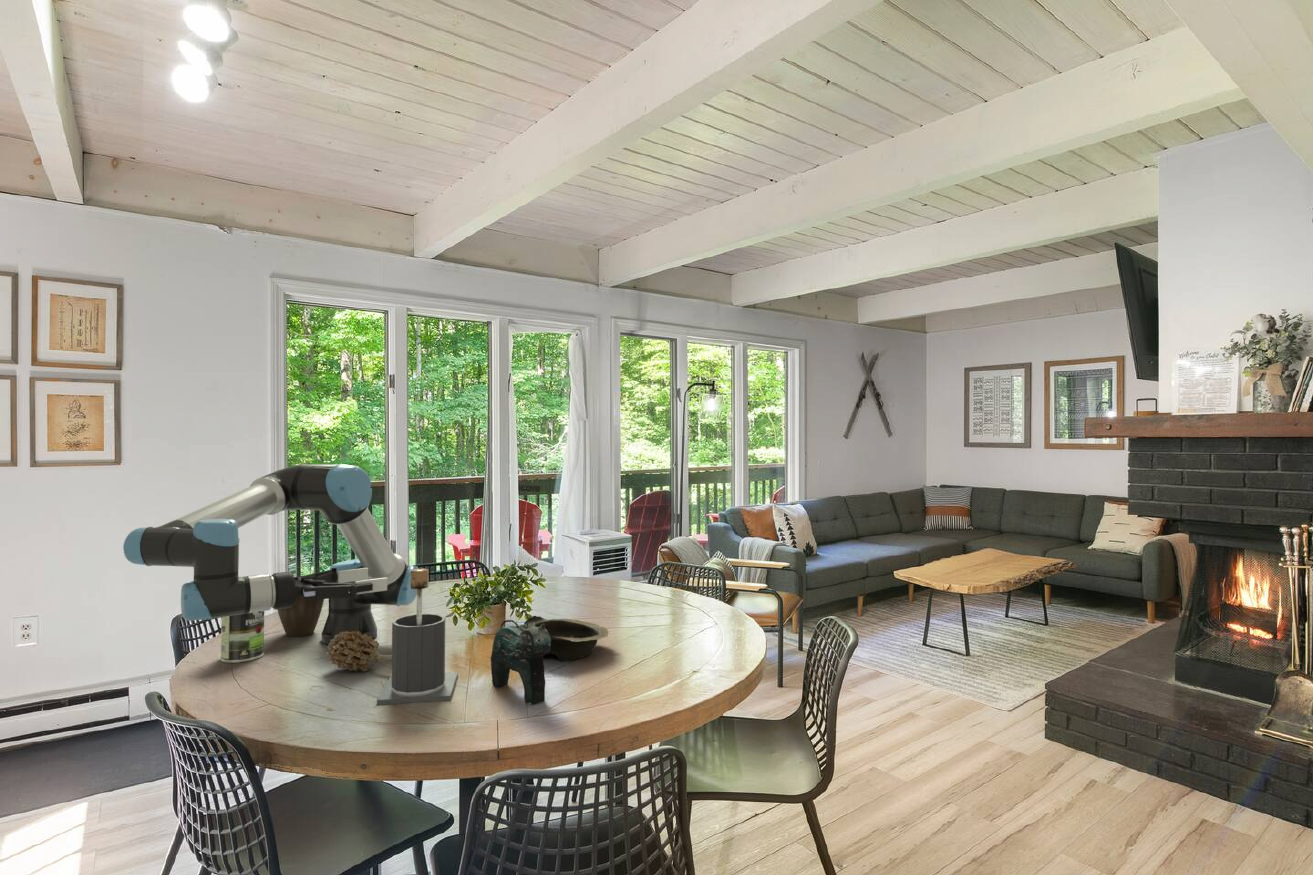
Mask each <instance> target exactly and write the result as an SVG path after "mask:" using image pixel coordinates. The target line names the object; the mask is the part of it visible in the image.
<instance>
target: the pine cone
mask: <svg viewBox="0 0 1313 875" xmlns="http://www.w3.org/2000/svg"><path fill="white" fill-rule="evenodd" d="M330 641H331V643H330V644H328V645H327V646H326V648H327V650H328V651H327V652H326V656H327V657H328V658H327V660H328V661H330V662H331V664H332V665H337V668H338V669H341V670H346V669H348V670H349V671H355V672H357V671H362V672H367V671H368V670H370V667H372V666H373V664H374V663H375V664H376V663H377V662H380V661H392V654H387V655H386V654H383V655H382V654H381V653H380V652H379V646H380V644H379V643H380V642H378V640H375V639H372V637H371V636H367V635H366V634H364V635H362V634H361V632H360V631H358V632H356V631H352V632H348V631H345V632H340V633H339V635H335V636H334V639H332V640H330Z"/></svg>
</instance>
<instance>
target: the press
mask: <svg viewBox="0 0 1313 875" xmlns="http://www.w3.org/2000/svg"><path fill="white" fill-rule="evenodd" d="M416 625H417V613H415V614H408V615H403V616H399V617H398V618H394V619H393V621H392V622H391V628H392V630H391V632H392V633H391V655H392V660H391V675H390V677H389V678H388V680H387V682H386V683H385V685H384V687H383V689H382V691H381V692H380V694H379V696H378V697H377V700H376V705H386V704H387V705H388V704H405V703H406V704H407V703H422V702H436V701H437V702H440V701H451V700H452V696H453V692H454V689H455V687H456V684H457V679H458V673H459V672H457V671H455V672H454V671H453V672H451V671H450V672H445V671H446V616H444V615H442V614H437V613H436V614H435V613H422V626H416Z"/></svg>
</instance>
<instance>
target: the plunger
mask: <svg viewBox="0 0 1313 875" xmlns="http://www.w3.org/2000/svg"><path fill="white" fill-rule="evenodd" d="M429 573H430V572H429V568H419V569H414V570H411V589H417V596H416V614H417V625H416V626H422V614H423V589H424V590H425V589H428V588H429V578H430V577H429Z"/></svg>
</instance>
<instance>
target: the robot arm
mask: <svg viewBox="0 0 1313 875" xmlns="http://www.w3.org/2000/svg"><path fill="white" fill-rule="evenodd" d="M371 487H372V481H371V479H370V476H369V475H368V473H367V472H366V471H365V470H364V469H363V468H361V467H360V466H357V465H349V464H347V463H346V464H345V463H340V464H309V463H307V464H305V463H304V464H303V463H302V464H301V463H300V464H296V465H292V466H288V467H285V468H281V469H278V470H276V471H273V472H271V473H269V474H266V475H264V476H263V475H262V476H261V477H258V478H256V479H255V480H253V481H252V482H251V484H250V485H249V486H248V487H246V488H244V489H242V490H239V491H238V492H235V493H233V494H231V495H228V496H226V497H224V498H221V499H219V500H217V501H215V502H213V503H210V504H208V505H205V506H203V507H201V508H199V509H197V510H194V511H193V512H189V513H188V514H186V515H184V516H180V517H178V518H176V519H175V520H171V521H169V522H166V523H165V524H163V525H160V526H157V527H153V526H146V527H138V528H135V529H133V530H131V532H129V533H128V534H127V536H126V538H125V539H124V541H123V546H122V548H123V554H124V557H125V559H126V560H128V561H129V562H130V563H131V564H134V565H141V566H146V567H152V566H158V567H185V568H186V567H187V568H188V567H189V568H193V578H192V579H193V581H190V582H186V583H183V584H182V585H181V590H180V591H181V592H180V611H181V615H182V616H181V617H182V618H183V619H184V620H185V621H187V622H194V621H202V620H210V621H211V620H214V619H215V620H216V619H219V618H220V619H221V617H227V616H233V615H240V614H247V613H253V615H257V614H258V611H264V612H267V611H270V610H271V609H273V610H275V611H276V610H277V609H284V608H291V607H292V606H293V605H294V603H295V598H296V597H304V600H312V599H324V600H326V599H328V614H327V618H326V620H325V624H324V626H323V629H322V632H321V643H323V644H326V645H329V644H330V643H331V641H330V640H332V639H334V636H335V635H339V633H340V632H345V631H348V632H352V631H356V632H358V631H360V632H361V634H362V635H364V634H366V635H367V636H371V637H372V639H373V640H375V638H377V636H378V627H377V623H376V620H375V617H374V616H373V612H372V605H381V606H384V605H385V606H396V607H401V606H409V605H411V604H412V603H413V602H414V601H415V599H417V589H411V570H414V569H420V568H419V567H418V566H416V565H413V564H411V565H408V564H407V563H406V561H405V559H404V558H403V557H402V556H401V555H399V554H397V553H395V552H393V550H392V548H391V546H390V544H389V543H388V541H387V540H386V538H385V536H384V534H383V532H382V531H381V529H380V527H379V526H378V524H377V522H376V520H375V519H374V516H373V515H372V513H371V512H370V510H369V505H370V502H371V500H372V496H373V495H372V494H373V488H371ZM289 510H292V511H293V510H294V511H295V510H304V511H320V513H321V514H322V516H323V518H324V520H325V521H326V522H328V523H329V524H332V525H336V526H337V528H338V529H339V531H340V533H341V534H342V536H343V537H344V539H345V540H346V542H347V543H348V545H349V548H351V549H352V551H353V553H354V554H355V556H356V558H354V559H350V560H345V561H344V560H343V561H339V562H336V563H334V564H332V565H331V566H330V568H329V569H327V570H324V571H323V570H322V571H319V572H318V571H317V572H314V573H310V574H305V575H300V576H295V575H294V573H293V572H291V571H284V572H283V571H282V572H274V573H273V574H271V575H270V574H269V573H262V574H254V575H253V574H252V575H247V576H239V570H240V569H239V566H240V565H239V562H240V561H239V559H240V555H239V554H240V552H239V551H240V538H239V528H241V527H244V526H245V525H247V524H249V523H251V522H253V521H255V520H257V519H260V518H261V517H264V516H266V515H268V516H273V515H276V514H278V513H280V512H283V511H289ZM277 611H278V610H277Z"/></svg>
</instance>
